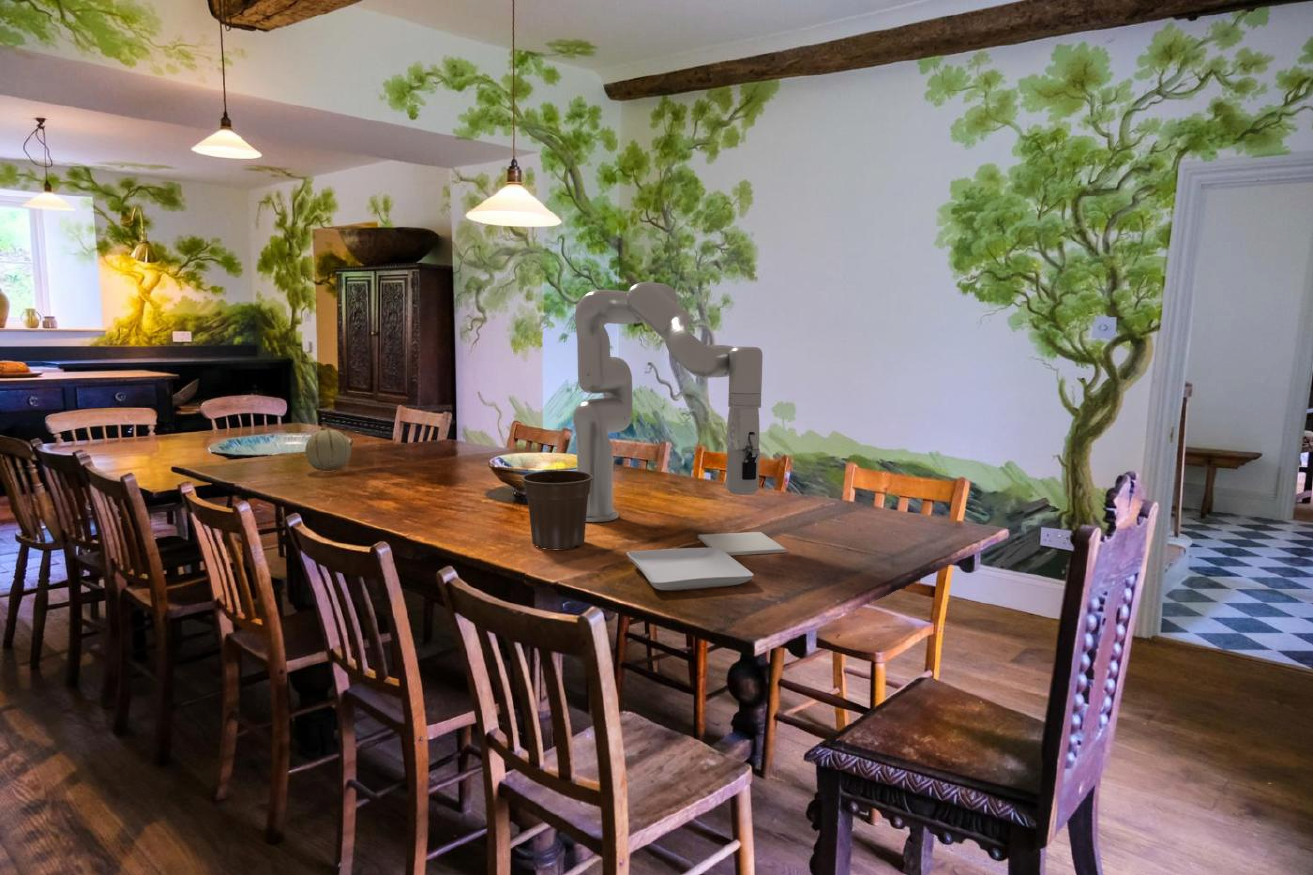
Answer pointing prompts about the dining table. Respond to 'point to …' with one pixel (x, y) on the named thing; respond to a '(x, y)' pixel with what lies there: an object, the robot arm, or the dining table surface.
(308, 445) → the cantaloupe
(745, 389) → the robot arm
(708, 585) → the salad plate
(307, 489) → the dining table surface
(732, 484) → the can
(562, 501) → the plant pot
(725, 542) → the mat
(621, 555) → the dining table surface
